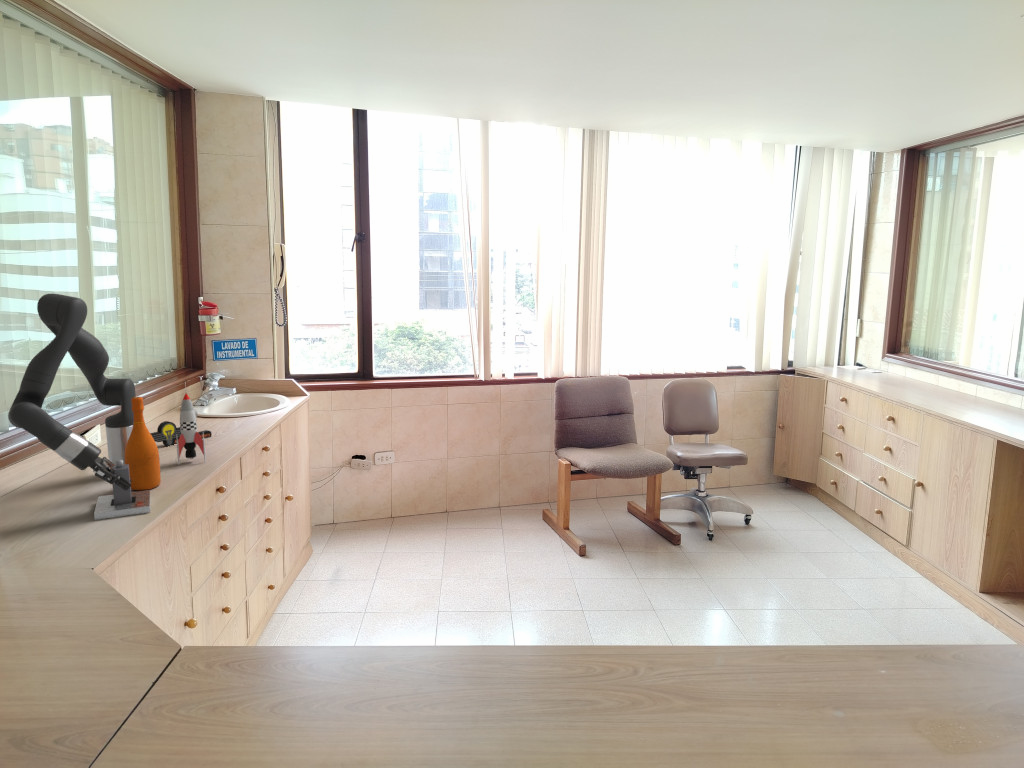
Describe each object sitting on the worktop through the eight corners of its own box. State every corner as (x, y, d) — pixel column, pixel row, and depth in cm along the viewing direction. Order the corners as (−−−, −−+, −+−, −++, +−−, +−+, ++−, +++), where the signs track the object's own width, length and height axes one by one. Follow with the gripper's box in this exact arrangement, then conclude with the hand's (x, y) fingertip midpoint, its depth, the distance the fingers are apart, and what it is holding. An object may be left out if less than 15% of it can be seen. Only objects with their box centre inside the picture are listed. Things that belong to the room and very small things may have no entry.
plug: (114, 506, 202) (110, 463, 200) (115, 501, 206) (111, 459, 203) (131, 503, 204) (127, 461, 202) (131, 499, 208) (128, 457, 205)
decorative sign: (148, 451, 266) (146, 426, 264) (145, 450, 267) (143, 425, 265) (211, 437, 288) (210, 413, 286) (208, 436, 289) (207, 413, 287)
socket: (98, 502, 209) (98, 494, 208) (150, 496, 215) (149, 488, 215) (94, 520, 195) (93, 511, 194) (150, 512, 201) (149, 504, 201)
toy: (207, 461, 252) (202, 381, 247) (186, 467, 245) (180, 385, 240) (193, 457, 257) (187, 379, 252) (171, 463, 250) (165, 382, 245)
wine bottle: (167, 482, 228) (160, 394, 223) (149, 492, 219) (141, 400, 214) (140, 481, 229) (132, 393, 224) (120, 490, 220) (112, 399, 214)
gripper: (85, 446, 192) (138, 482, 199) (89, 435, 204) (139, 469, 212) (65, 467, 190) (118, 502, 198) (70, 454, 203) (121, 488, 210)
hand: (129, 485), depth 205 cm, fingers closed on plug, 4 cm apart
